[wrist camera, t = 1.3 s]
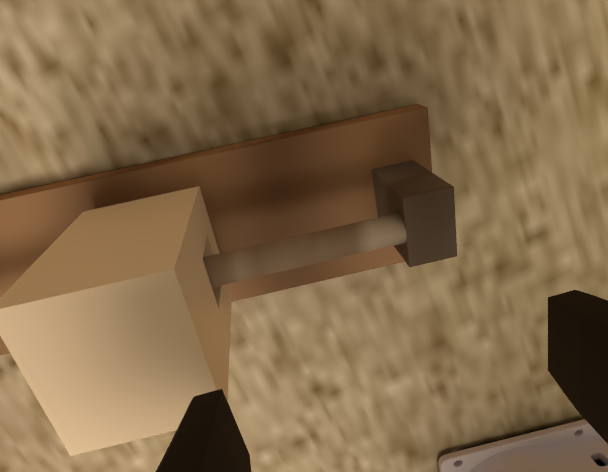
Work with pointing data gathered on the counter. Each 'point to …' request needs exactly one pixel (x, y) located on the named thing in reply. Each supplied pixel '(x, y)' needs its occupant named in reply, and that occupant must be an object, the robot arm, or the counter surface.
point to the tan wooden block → (122, 321)
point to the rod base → (273, 204)
